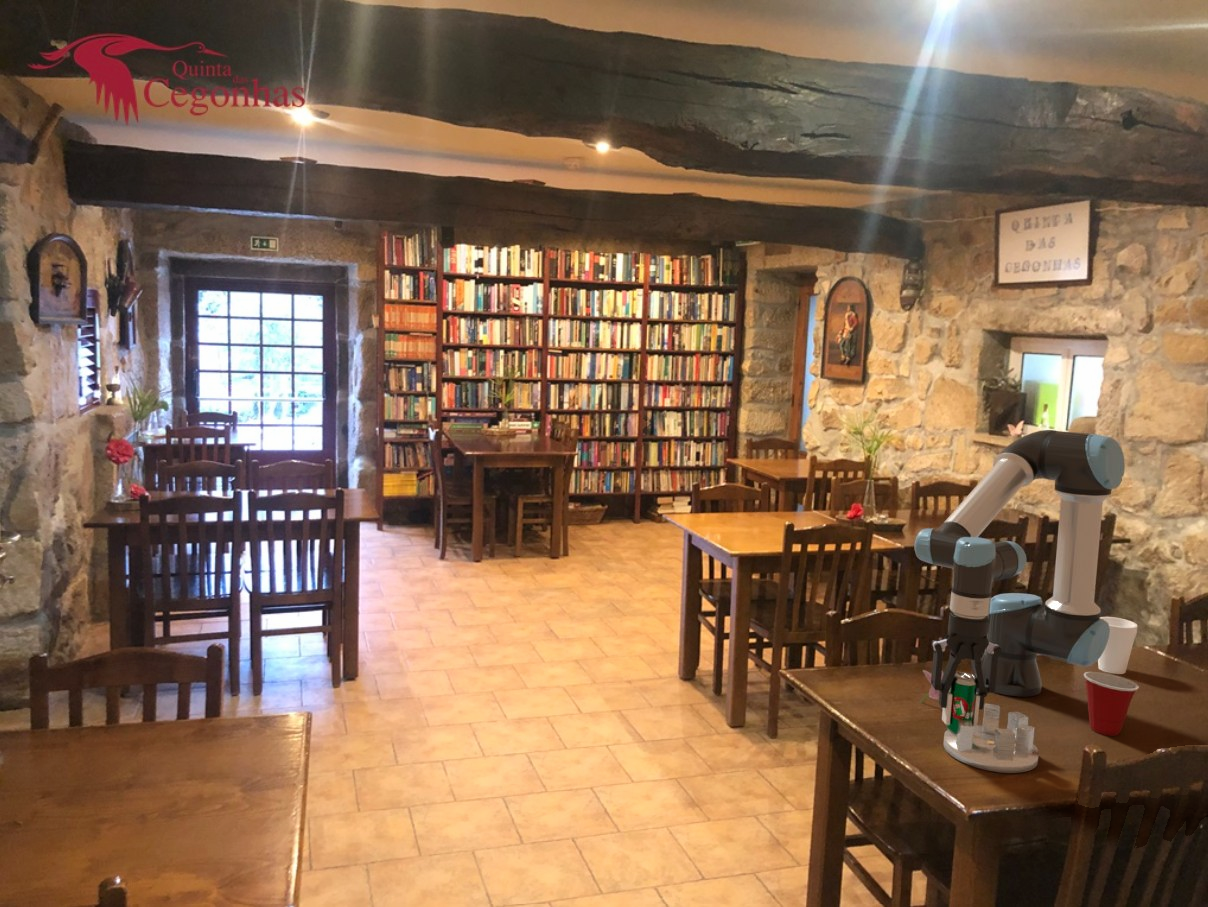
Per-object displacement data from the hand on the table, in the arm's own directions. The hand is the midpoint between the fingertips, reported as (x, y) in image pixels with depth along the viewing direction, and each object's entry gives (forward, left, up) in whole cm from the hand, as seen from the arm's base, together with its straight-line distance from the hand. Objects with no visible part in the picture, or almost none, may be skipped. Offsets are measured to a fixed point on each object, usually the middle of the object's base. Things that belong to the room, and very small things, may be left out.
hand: (959, 722), depth 188 cm
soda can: (0, 0, -2) cm, 2 cm away
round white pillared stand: (-5, +4, -6) cm, 9 cm away
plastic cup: (-39, +10, -7) cm, 41 cm away
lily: (-16, -17, -7) cm, 24 cm away
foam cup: (-80, -10, -6) cm, 81 cm away
